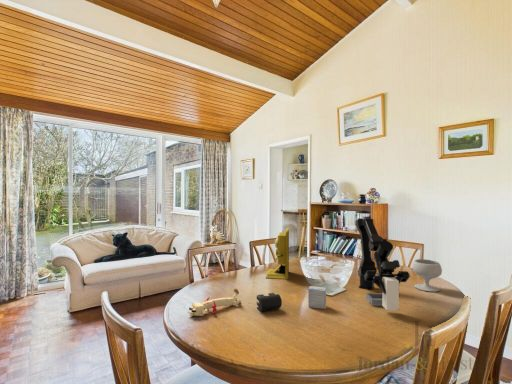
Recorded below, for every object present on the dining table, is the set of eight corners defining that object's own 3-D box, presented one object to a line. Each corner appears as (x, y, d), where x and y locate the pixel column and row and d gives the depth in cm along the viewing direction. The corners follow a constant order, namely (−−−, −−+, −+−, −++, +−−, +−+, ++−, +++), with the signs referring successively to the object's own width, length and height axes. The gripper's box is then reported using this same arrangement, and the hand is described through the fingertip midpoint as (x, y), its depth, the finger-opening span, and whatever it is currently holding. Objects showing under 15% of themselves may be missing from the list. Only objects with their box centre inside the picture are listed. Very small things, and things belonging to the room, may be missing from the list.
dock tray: (366, 298, 142) (366, 292, 142) (383, 299, 141) (384, 293, 141) (372, 305, 133) (372, 299, 133) (391, 306, 132) (391, 300, 132)
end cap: (261, 314, 123) (261, 299, 123) (255, 308, 130) (255, 293, 130) (281, 311, 127) (282, 296, 127) (275, 305, 133) (275, 291, 133)
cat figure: (232, 303, 139) (184, 311, 124) (233, 285, 139) (185, 291, 124) (243, 310, 131) (193, 320, 116) (244, 291, 131) (195, 298, 116)
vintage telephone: (269, 267, 198) (269, 225, 198) (289, 268, 196) (289, 225, 196) (264, 281, 167) (264, 231, 167) (287, 283, 165) (288, 232, 165)
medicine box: (326, 305, 133) (326, 287, 133) (325, 309, 128) (325, 290, 128) (309, 303, 135) (309, 285, 135) (308, 307, 131) (308, 288, 131)
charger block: (382, 305, 128) (382, 276, 127) (393, 305, 127) (394, 277, 127) (386, 310, 123) (387, 280, 122) (398, 310, 122) (398, 280, 122)
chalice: (414, 290, 153) (414, 263, 153) (410, 283, 166) (411, 257, 166) (444, 294, 148) (444, 266, 148) (438, 286, 161) (438, 260, 161)
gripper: (366, 252, 129) (374, 284, 118) (408, 253, 128) (420, 286, 117) (361, 265, 137) (368, 296, 126) (400, 266, 136) (411, 297, 125)
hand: (391, 294), depth 123 cm, fingers closed on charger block, 5 cm apart
